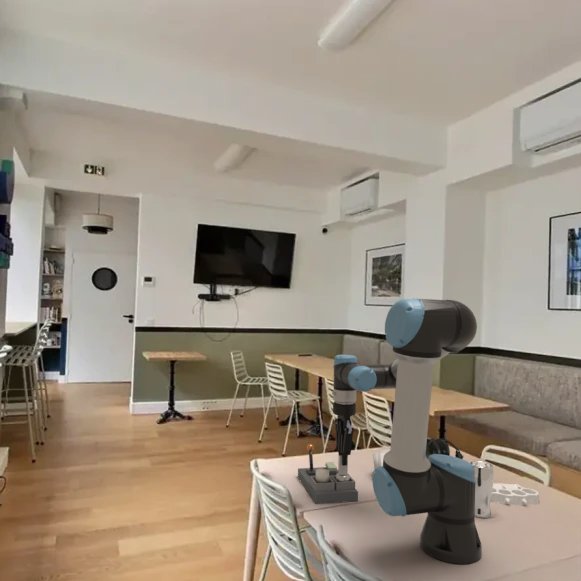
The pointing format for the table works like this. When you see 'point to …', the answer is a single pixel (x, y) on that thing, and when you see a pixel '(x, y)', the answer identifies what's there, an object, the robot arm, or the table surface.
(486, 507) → the beer glass
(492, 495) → the knuckle duster
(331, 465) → the rocker switch
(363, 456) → the table surface
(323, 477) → the white button
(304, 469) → the switch panel
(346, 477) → the metal button
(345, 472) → the robot arm
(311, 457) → the toggle lever
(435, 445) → the headphones
